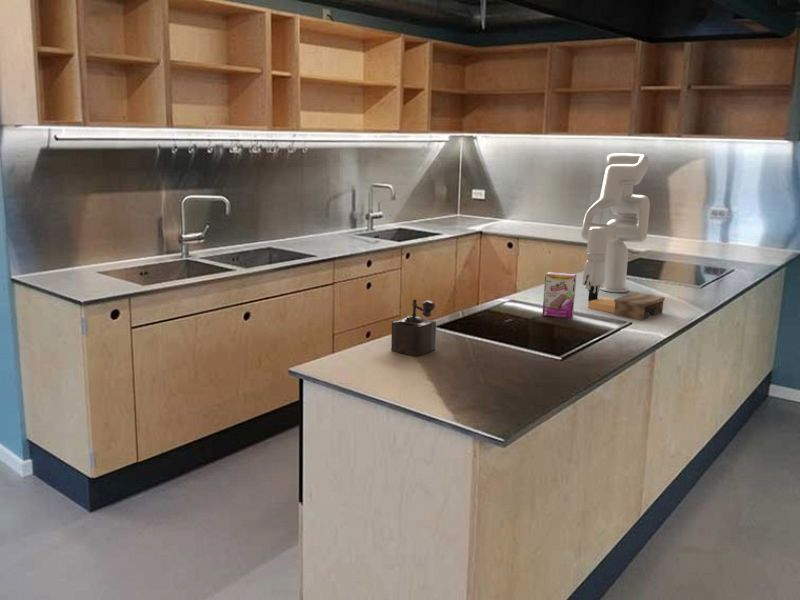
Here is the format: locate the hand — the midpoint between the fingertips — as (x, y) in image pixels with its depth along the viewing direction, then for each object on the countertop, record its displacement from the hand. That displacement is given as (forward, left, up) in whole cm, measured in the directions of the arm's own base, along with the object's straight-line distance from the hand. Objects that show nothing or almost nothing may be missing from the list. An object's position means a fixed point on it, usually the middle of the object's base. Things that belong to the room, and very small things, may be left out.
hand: (592, 301), depth 292 cm
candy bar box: (+1, -27, -1) cm, 27 cm away
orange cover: (+9, 0, -1) cm, 9 cm away
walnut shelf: (+19, 0, -1) cm, 19 cm away
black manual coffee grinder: (-3, -99, -2) cm, 99 cm away
